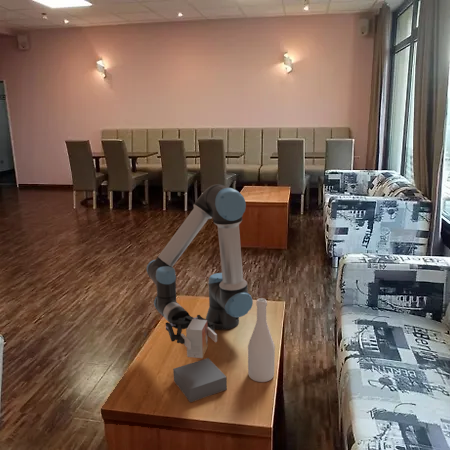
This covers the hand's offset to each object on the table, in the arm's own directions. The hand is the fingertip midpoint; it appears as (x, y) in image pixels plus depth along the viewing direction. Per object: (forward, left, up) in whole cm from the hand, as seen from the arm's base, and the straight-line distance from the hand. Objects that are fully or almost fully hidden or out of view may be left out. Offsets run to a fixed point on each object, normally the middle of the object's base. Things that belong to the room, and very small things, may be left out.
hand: (203, 342), depth 151 cm
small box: (0, -5, -6) cm, 8 cm away
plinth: (0, -5, -19) cm, 20 cm away
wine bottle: (-22, +1, -19) cm, 30 cm away
